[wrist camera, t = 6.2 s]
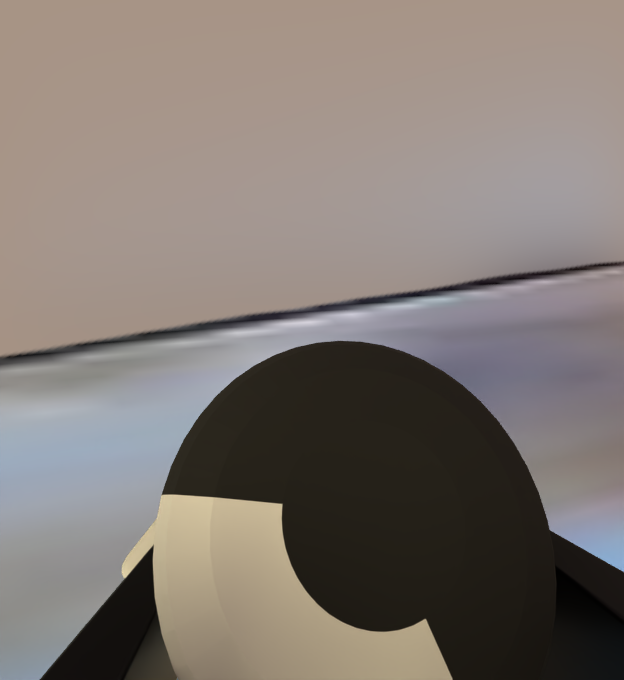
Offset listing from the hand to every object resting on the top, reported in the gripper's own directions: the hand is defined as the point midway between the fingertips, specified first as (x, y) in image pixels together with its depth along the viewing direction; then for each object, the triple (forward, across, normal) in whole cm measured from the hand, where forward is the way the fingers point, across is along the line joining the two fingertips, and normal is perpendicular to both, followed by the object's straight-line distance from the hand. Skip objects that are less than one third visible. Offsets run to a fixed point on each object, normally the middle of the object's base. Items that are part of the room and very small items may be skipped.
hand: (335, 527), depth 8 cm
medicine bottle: (+6, 0, +6) cm, 9 cm away
